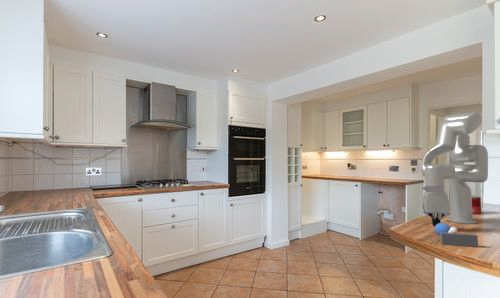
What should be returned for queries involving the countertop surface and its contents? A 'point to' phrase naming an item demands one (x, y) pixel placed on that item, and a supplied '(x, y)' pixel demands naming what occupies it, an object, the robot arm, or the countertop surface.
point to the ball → (442, 228)
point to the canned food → (476, 204)
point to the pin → (453, 230)
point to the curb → (459, 239)
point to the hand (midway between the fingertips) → (436, 226)
